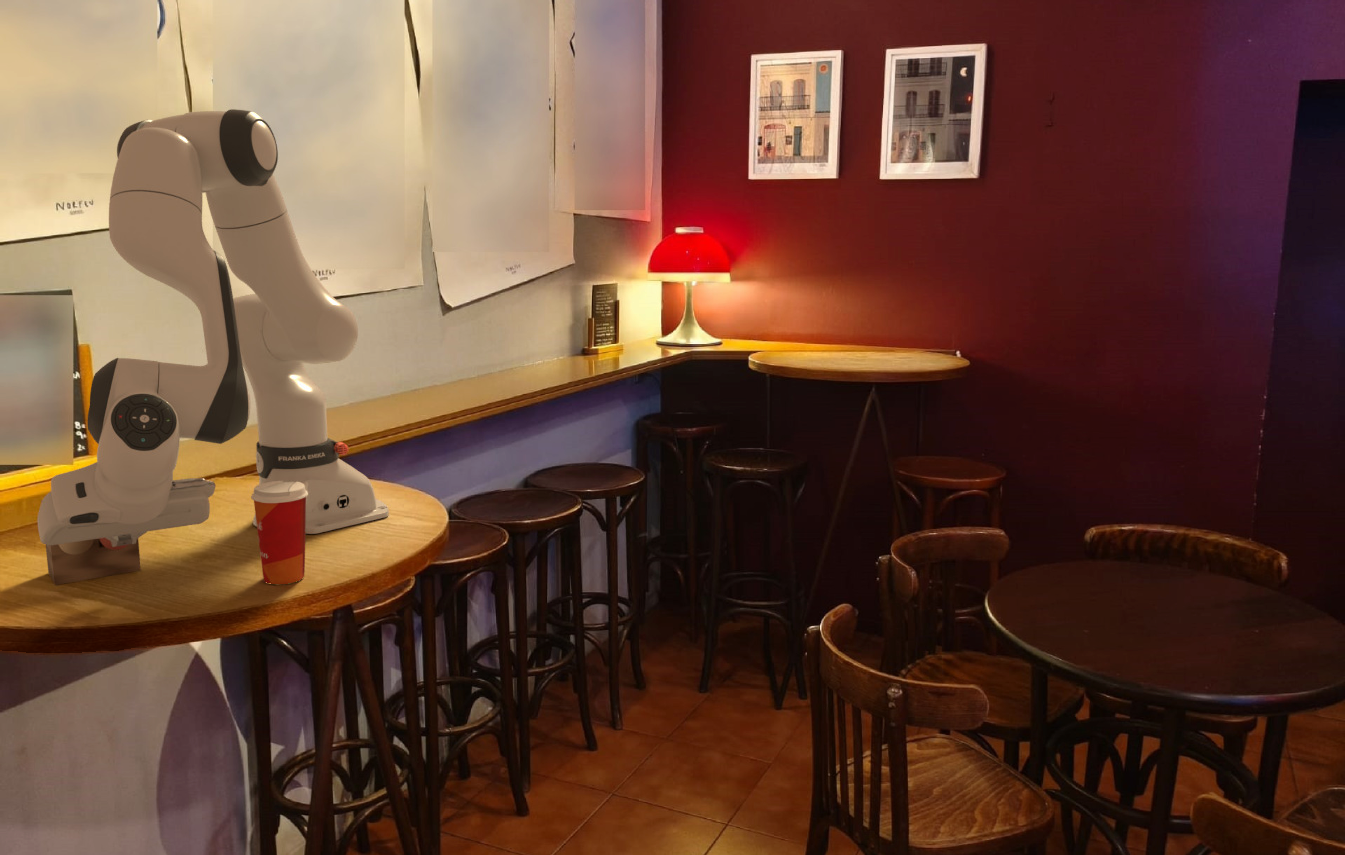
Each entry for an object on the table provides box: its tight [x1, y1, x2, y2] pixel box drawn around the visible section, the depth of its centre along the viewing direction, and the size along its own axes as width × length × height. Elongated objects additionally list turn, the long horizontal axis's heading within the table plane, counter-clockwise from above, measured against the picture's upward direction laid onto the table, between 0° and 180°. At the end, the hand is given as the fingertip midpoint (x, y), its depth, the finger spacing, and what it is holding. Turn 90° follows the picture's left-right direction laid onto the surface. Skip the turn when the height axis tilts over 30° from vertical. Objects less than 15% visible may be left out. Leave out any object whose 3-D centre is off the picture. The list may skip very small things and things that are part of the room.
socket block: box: [40, 499, 142, 586], centre depth 146 cm, size 11×7×11 cm, turn 129°
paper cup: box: [250, 481, 308, 586], centre depth 145 cm, size 8×8×14 cm
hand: (122, 541), depth 138 cm, fingers closed
